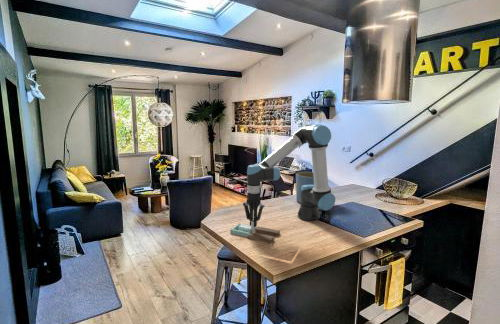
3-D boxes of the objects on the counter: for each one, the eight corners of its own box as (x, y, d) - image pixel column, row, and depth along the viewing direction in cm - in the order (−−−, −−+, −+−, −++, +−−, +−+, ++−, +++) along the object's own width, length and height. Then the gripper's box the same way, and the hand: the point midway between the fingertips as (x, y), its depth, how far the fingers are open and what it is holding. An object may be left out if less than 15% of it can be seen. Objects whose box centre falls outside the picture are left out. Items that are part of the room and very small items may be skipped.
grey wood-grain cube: (247, 231, 161) (247, 225, 160) (253, 233, 159) (253, 226, 159) (244, 234, 157) (244, 227, 157) (250, 235, 156) (250, 228, 155)
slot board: (257, 231, 164) (257, 226, 163) (279, 235, 158) (279, 230, 157) (247, 239, 151) (247, 234, 151) (271, 245, 145) (271, 239, 145)
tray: (239, 228, 167) (239, 223, 167) (256, 231, 162) (256, 226, 162) (230, 234, 158) (230, 229, 157) (248, 238, 152) (248, 233, 152)
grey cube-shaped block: (241, 230, 163) (241, 224, 162) (247, 231, 161) (247, 225, 160) (238, 232, 159) (238, 226, 158) (244, 234, 157) (244, 227, 157)
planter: (305, 207, 209) (306, 178, 206) (290, 199, 230) (291, 172, 226) (329, 204, 218) (330, 176, 214) (312, 197, 239) (313, 171, 235)
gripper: (240, 192, 153) (240, 231, 156) (261, 195, 147) (260, 235, 151) (246, 189, 160) (246, 227, 163) (266, 191, 154) (265, 231, 158)
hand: (253, 231), depth 157 cm, fingers closed
